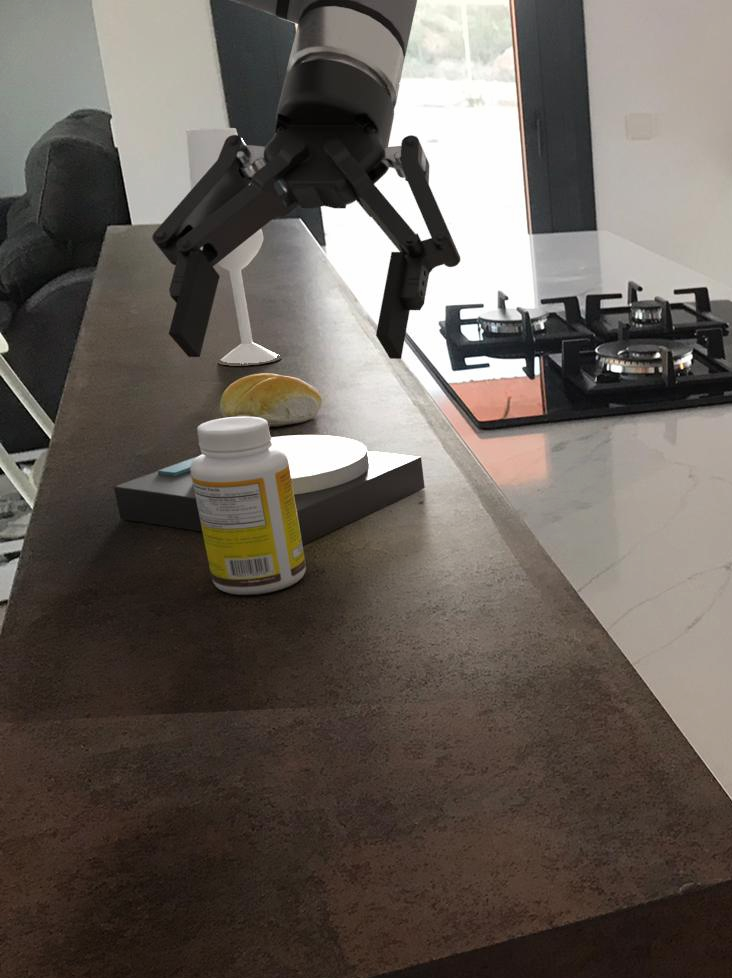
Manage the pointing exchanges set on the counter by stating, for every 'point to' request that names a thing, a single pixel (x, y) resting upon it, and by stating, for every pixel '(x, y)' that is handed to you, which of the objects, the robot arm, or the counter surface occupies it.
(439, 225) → the robot arm
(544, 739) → the counter surface
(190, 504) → the scale
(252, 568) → the supplement bottle
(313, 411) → the bread roll
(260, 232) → the champagne flute
